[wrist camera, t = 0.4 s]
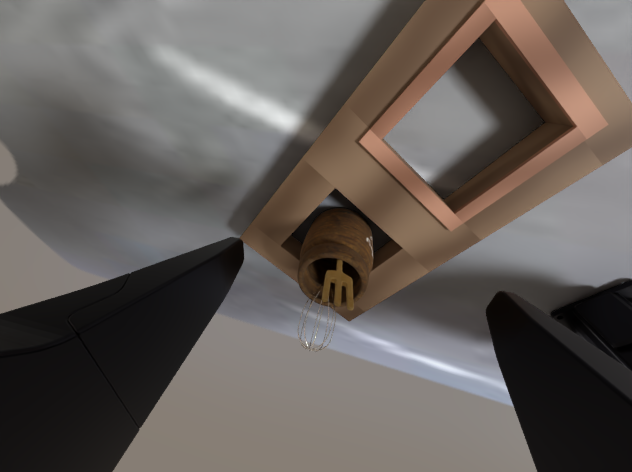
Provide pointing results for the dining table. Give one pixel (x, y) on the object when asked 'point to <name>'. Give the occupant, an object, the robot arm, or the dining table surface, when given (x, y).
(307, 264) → the utensil holder
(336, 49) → the dining table surface
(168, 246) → the dining table surface
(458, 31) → the double window frame
